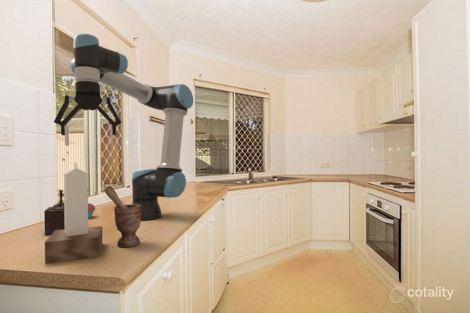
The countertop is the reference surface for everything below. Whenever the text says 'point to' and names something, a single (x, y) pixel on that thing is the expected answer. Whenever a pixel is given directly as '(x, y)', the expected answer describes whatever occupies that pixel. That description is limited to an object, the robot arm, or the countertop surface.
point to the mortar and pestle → (125, 219)
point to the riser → (73, 245)
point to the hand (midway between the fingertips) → (90, 145)
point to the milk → (76, 202)
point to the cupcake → (90, 210)
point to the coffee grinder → (55, 217)
